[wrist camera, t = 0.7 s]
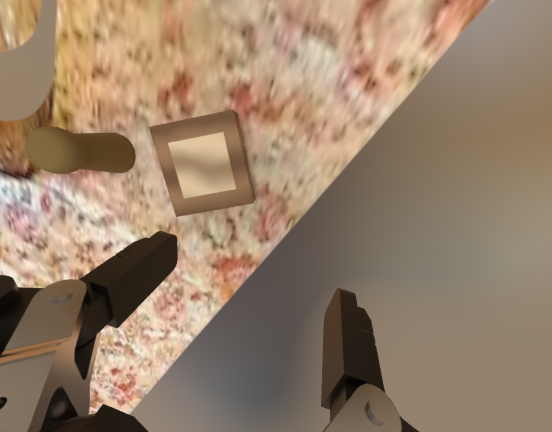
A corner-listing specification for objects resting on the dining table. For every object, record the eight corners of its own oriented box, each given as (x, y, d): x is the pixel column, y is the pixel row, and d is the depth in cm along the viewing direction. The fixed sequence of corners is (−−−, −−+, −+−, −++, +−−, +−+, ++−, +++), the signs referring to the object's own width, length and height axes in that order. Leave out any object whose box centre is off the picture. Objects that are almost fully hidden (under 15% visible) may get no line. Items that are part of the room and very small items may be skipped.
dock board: (160, 130, 33) (148, 126, 30) (237, 114, 32) (233, 109, 29) (184, 212, 36) (175, 216, 33) (255, 199, 35) (253, 203, 32)
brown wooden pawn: (142, 163, 34) (80, 164, 24) (111, 179, 35) (37, 187, 24) (120, 125, 33) (44, 109, 22) (89, 143, 34) (0, 135, 23)
